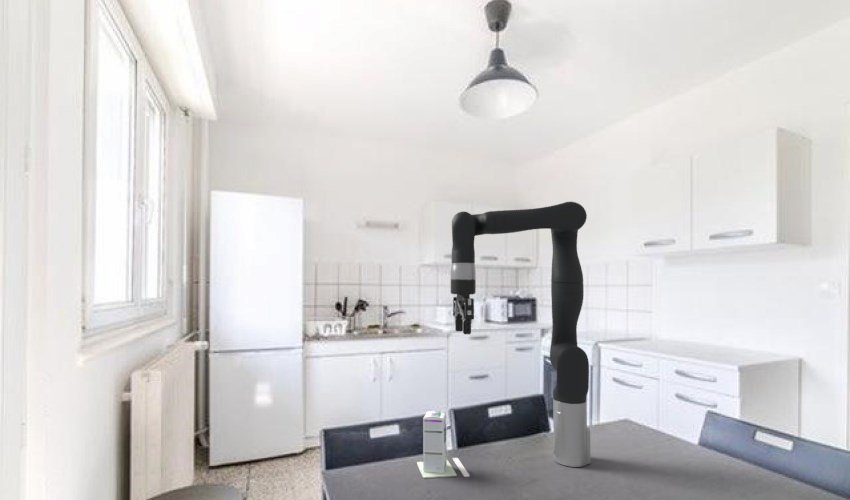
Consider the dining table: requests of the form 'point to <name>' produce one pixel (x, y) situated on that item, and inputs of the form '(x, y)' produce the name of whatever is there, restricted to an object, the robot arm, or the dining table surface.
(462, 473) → the white line strip
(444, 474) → the mat
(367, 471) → the dining table surface
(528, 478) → the dining table surface
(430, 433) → the syrup box
